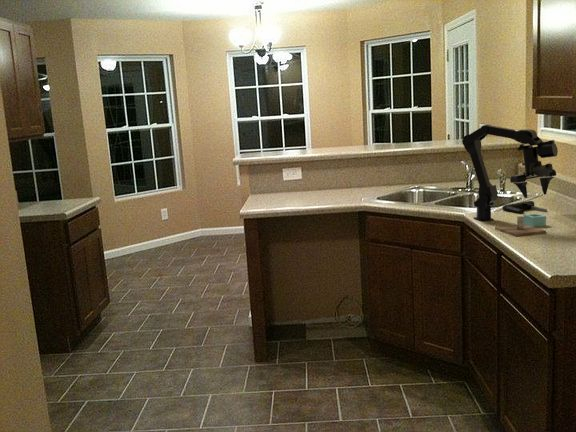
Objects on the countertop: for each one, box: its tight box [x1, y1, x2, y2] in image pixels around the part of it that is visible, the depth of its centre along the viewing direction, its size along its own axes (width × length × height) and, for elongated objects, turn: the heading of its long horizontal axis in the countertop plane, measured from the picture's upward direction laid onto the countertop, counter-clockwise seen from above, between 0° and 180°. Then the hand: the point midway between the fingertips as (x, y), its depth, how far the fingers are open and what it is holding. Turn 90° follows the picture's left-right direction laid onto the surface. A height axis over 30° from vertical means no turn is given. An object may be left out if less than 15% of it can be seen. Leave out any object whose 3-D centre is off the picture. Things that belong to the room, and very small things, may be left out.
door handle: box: [501, 200, 548, 215], centre depth 283 cm, size 3×20×16 cm
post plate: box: [494, 215, 547, 237], centre depth 241 cm, size 14×14×6 cm
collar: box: [522, 213, 547, 228], centre depth 252 cm, size 6×6×4 cm
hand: (535, 196), depth 249 cm, fingers open, 9 cm apart
